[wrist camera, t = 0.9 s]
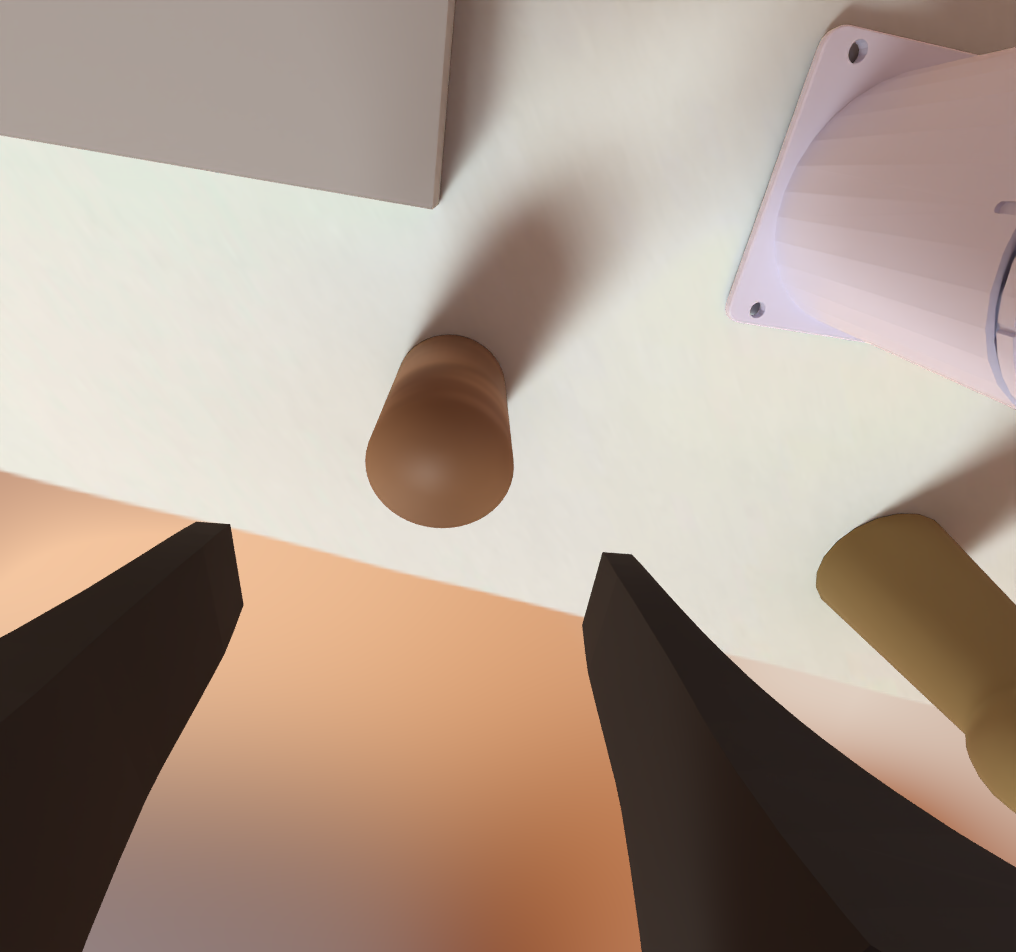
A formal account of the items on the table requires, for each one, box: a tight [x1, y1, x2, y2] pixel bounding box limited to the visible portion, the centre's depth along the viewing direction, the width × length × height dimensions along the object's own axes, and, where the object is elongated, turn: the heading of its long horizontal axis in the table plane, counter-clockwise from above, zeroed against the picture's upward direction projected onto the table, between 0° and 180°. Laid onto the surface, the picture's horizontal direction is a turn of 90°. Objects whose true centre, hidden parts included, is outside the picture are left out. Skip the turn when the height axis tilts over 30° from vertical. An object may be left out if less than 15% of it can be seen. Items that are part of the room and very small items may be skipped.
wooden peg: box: [365, 335, 514, 528], centre depth 17 cm, size 4×4×6 cm
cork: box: [816, 514, 1016, 813], centre depth 20 cm, size 6×6×11 cm
